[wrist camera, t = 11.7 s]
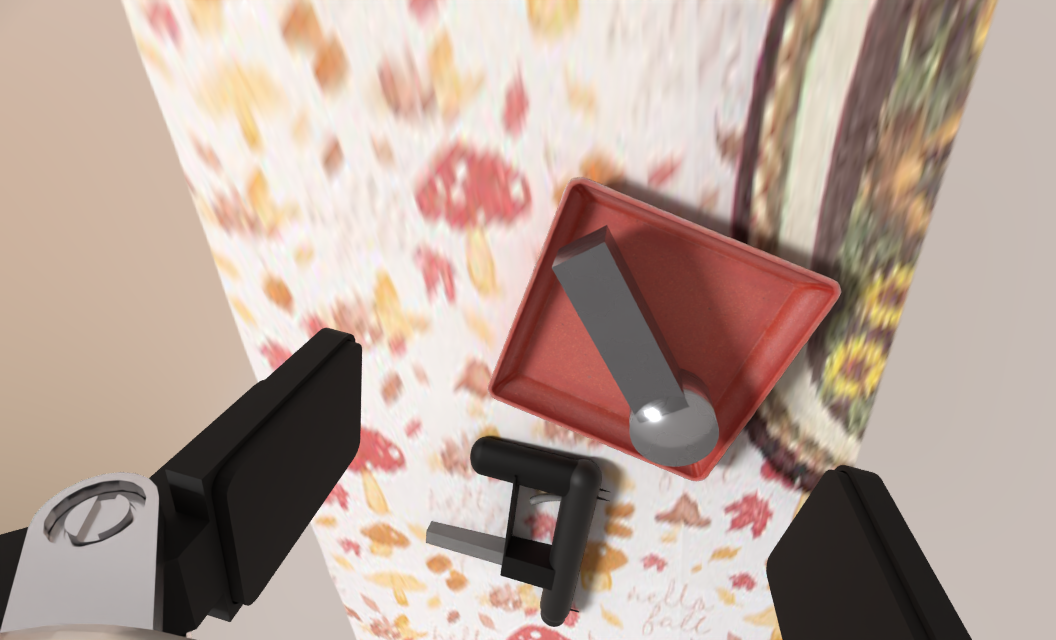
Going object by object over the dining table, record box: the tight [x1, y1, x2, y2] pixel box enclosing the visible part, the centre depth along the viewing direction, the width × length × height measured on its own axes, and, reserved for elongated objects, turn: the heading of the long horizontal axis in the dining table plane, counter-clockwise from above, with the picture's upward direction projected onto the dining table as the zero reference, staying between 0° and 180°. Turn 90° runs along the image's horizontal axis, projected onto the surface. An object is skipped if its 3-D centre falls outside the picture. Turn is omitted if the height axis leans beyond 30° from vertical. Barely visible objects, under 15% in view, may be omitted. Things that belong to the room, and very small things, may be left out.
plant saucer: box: [488, 177, 841, 481], centre depth 36 cm, size 18×18×3 cm
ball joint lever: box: [552, 225, 719, 467], centre depth 33 cm, size 16×6×4 cm, turn 30°
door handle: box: [426, 437, 609, 627], centre depth 47 cm, size 3×20×16 cm
